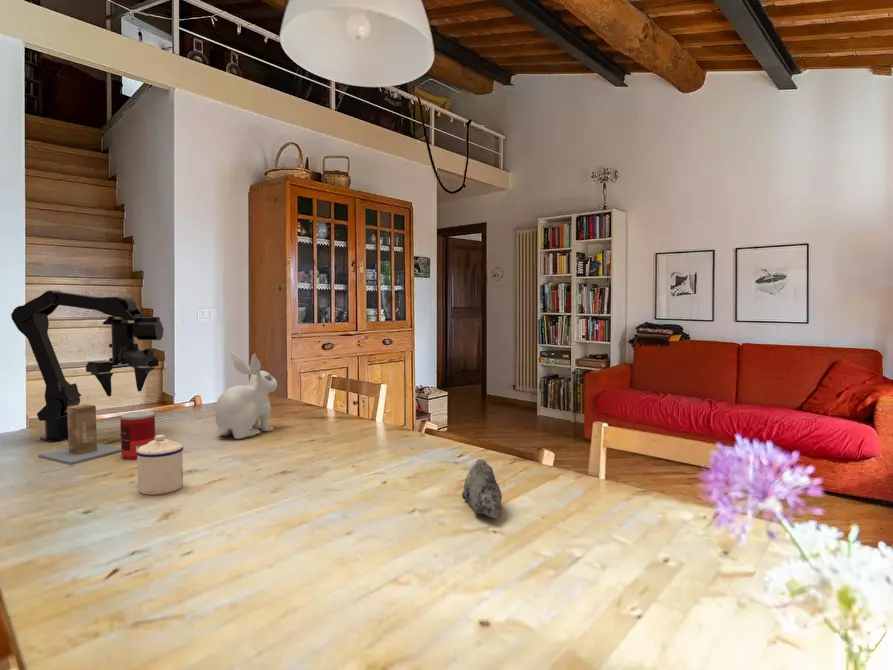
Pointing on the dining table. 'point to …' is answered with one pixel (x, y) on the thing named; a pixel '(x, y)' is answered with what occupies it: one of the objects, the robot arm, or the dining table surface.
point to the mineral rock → (482, 490)
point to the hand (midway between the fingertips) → (124, 393)
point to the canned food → (136, 432)
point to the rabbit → (246, 401)
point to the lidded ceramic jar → (160, 466)
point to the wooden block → (82, 429)
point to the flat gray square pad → (72, 458)
